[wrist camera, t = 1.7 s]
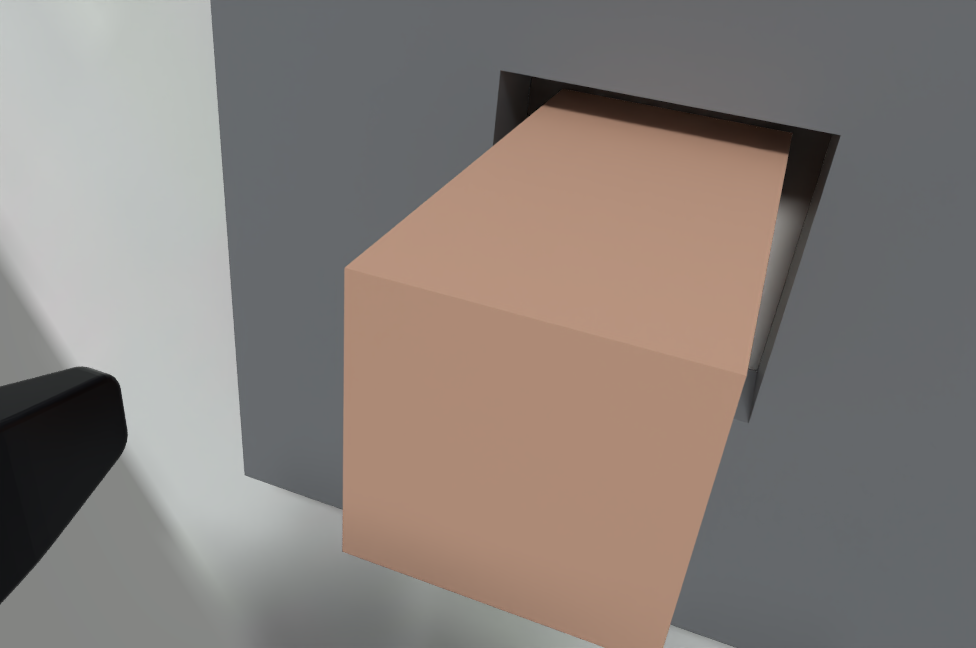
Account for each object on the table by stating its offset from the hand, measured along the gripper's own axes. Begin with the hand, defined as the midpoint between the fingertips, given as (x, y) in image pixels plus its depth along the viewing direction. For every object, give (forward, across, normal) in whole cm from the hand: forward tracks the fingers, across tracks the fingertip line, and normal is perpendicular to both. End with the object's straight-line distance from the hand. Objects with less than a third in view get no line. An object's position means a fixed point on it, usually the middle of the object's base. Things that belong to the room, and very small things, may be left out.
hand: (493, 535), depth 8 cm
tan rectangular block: (+9, 0, 0) cm, 9 cm away
